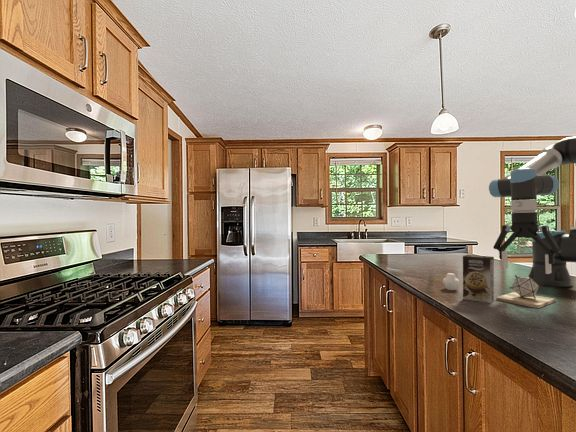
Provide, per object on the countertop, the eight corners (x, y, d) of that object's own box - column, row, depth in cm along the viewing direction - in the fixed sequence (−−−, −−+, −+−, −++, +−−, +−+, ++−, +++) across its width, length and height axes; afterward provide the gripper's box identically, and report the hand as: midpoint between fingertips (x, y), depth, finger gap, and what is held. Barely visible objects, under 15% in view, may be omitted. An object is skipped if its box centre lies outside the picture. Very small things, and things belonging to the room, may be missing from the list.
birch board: (514, 294, 126) (514, 291, 126) (555, 301, 115) (555, 298, 115) (496, 300, 119) (496, 297, 119) (538, 308, 108) (538, 305, 108)
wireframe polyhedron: (526, 306, 119) (535, 283, 121) (541, 304, 111) (550, 279, 113) (501, 293, 121) (510, 270, 124) (514, 290, 113) (524, 266, 116)
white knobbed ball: (441, 289, 136) (440, 273, 136) (445, 287, 141) (445, 270, 141) (457, 291, 132) (457, 274, 132) (461, 289, 137) (460, 272, 137)
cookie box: (462, 299, 120) (461, 256, 120) (467, 296, 125) (466, 254, 125) (490, 303, 114) (490, 257, 114) (494, 299, 119) (494, 255, 119)
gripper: (482, 212, 125) (484, 267, 126) (563, 211, 104) (565, 277, 104) (492, 212, 129) (493, 265, 130) (572, 210, 108) (573, 274, 108)
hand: (525, 270), depth 117 cm, fingers open, 13 cm apart
